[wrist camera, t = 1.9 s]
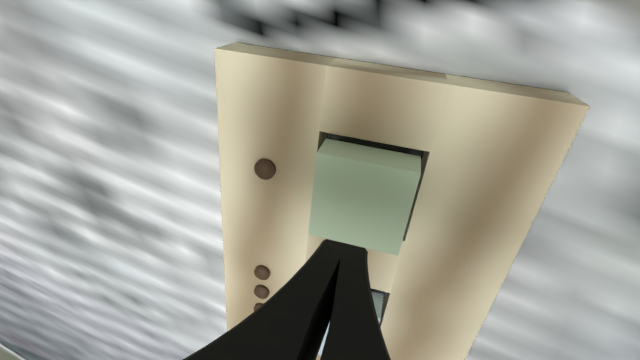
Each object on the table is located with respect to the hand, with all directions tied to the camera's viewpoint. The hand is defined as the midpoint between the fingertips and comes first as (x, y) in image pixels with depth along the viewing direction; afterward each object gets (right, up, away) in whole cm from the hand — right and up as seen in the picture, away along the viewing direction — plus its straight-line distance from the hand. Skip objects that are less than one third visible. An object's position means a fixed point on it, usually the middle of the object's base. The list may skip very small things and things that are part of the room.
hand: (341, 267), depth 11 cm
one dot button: (+1, +2, +5) cm, 5 cm away
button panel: (+1, -4, +10) cm, 11 cm away
